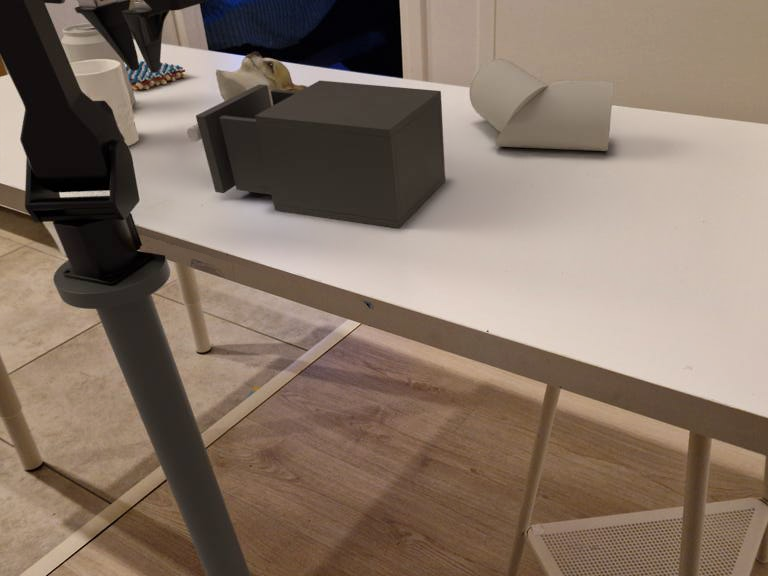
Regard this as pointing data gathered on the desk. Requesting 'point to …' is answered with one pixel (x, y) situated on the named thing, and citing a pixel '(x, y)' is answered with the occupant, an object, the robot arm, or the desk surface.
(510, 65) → the bent grey cylinder
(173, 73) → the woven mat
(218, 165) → the drawer
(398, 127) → the matte charcoal box
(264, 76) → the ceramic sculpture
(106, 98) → the white cup
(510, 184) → the desk surface
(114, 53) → the can
